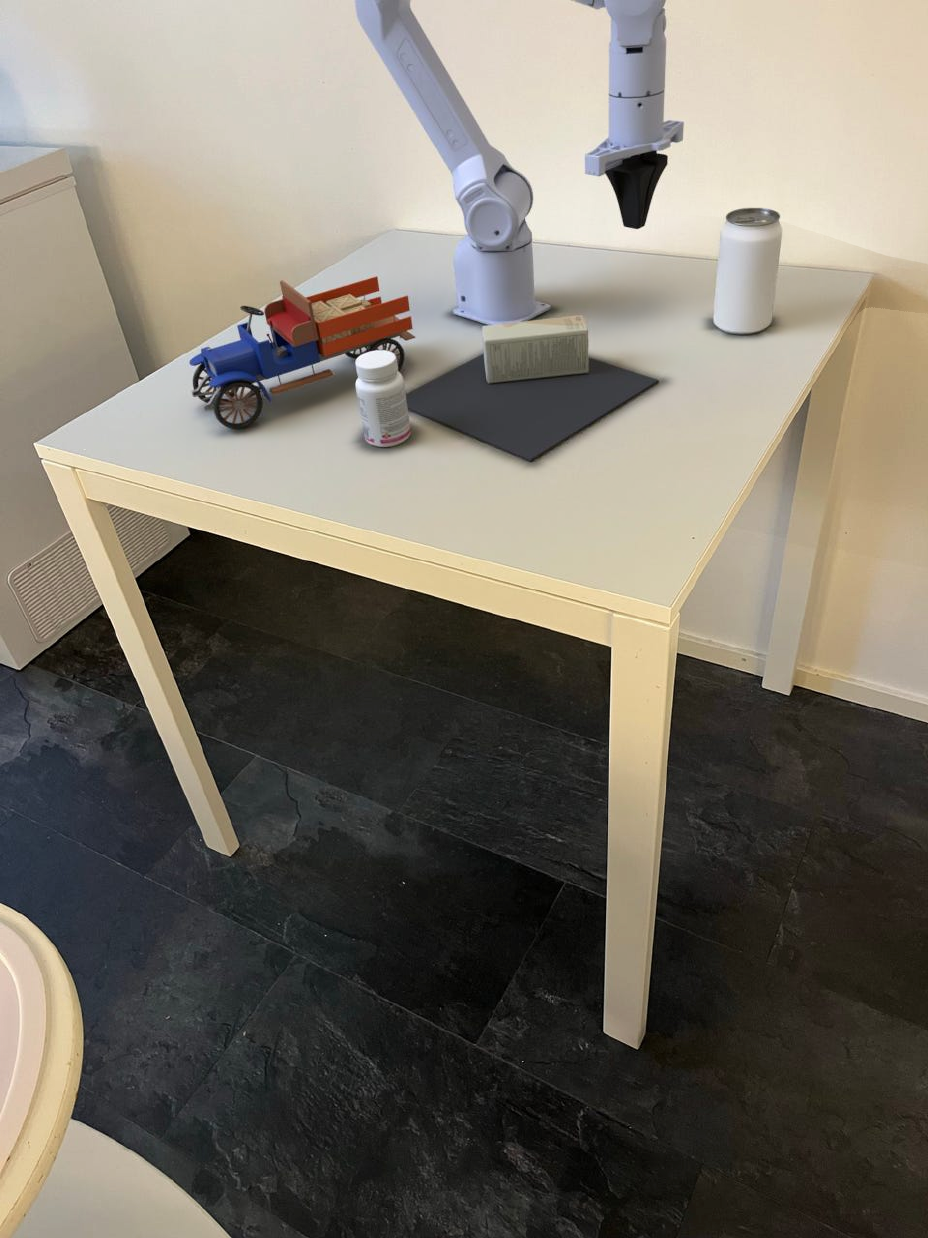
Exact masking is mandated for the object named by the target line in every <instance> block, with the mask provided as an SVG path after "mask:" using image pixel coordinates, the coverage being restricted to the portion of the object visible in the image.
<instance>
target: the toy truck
mask: <svg viewBox="0 0 928 1238" xmlns="http://www.w3.org/2000/svg"><path fill="white" fill-rule="evenodd" d="M279 285H280V290H281V294H282V296H281V298H282V299H281V298H280V299H278V300H274V301H271V302H269V303H266V305H265V307H264V309H263V310H261V309H259V308H256V307H253V306H248V305H241V306H240V310H241V311H243V312H244V313H247V314H249V317H248V321H247V322H244V323H240V324H237V325H236V327H237V331H238V335H239V338H240V339H239V340H236V341H233V342H229V343H226V344H222V345H220V346H216V347H213V348H211V347H210V346H206V347H202V348H201V349H200V351H201V352H200V353H198V354H197V355H194V357H192V358H191V359H190V360H189V363H188V364H189V365H190V366H193V367H196V366H197V368H196V369H195V371H194V373H193V376H192V387H193V390H191V395H192V398H196V397H197V398H198V399H199V400H201V401H202V402H203V404H202V407H203V410H204V411H206V412H207V411H210V410H213V412H214V416H215V418H216V419H217V421H218V422H219V423H220V424H221V425H223V426H224V427H226V428H228V429H232V430H241V429H245V428H246V429H247V428H248V427H250V426H251V425H253V424H254V423H255V422H257V420H258V419H259V417H260V416H261V415H262V411H263V408H264V400H263V399H265V400H266V401H268V403H269V404H272V403H273V401H272V398H271V396H270V394H269V393H268V391H267V389H266V387H265V385H264V384H263V383H262V381H265V380H269V379H273V378H276V377H277V378H278V382H279V385H276V386H273V387H270V388H269V392H270V393H271V394H272V395H273V396H276V395H280V394H282V393H285V392H288V391H291V390H294V389H296V388H301V387H303V386H307V385H310V384H312V383H315V382H318V381H321V380H324V379H328V378H330V377H333V376H334V371H332V370H331V369H330V368H328V369H325V370H322V371H319V372H316V373H315V369H314V365H316V364H318V363H321V362H324V361H326V360H329V359H333V358H336V357H339V356H342V355H345V356H347V357H349V358H350V359H355V360H356V359H357V358H358V357H359V356H360V355H362V354H364V353H367V352H371V351H377V350H380V349H379V347H381V346H382V349H381V350H385V351H390V352H392V353H394V354H395V355H396V358H397V357H399V359H398V360H397V364H398V372H400V371H401V370H402V368H403V366H404V363H405V355H406V354H405V350H404V348H403V346H402V345H401V343H400V342H399V341H398V340H396V339H394V338H397V337H399V339H403V340H404V341H405V342H407V341H409V340H413V339H416V336H415V335H413V334H412V333H410V332H409V331H411V330H413V322H412V321H413V320H412V316H409V315H408V316H407V317H404V318H399V317H397V315H398V316H399V315H401V314H404V313H407V312H410V303H409V302H410V301H409V295H403V296H401V297H398V298H394V299H391V300H388V301H385V302H382V296H377V297H372V298H369V299H366V297H365V296H368V295H371V294H374V293H378V292H380V285H379V279H378V276H372V277H370V278H366V279H363V280H359V281H356V282H352V283H349V284H346V285H342V286H338V287H336V288H333V289H329V290H326V291H322V292H318V293H316V294H312V295H309V296H305V295H303V294H302V293H300V292H299V291H297V290H296V289H295V288H294V287H293V286H291V285H290V284H288V283H287V282H286V281H284V280H279ZM361 297H363V299H358V298H361ZM253 316H260V317H263V316H265V320H266V325H267V326H268V327H269V330H270V334H271V336H270V334H269V333H266V337H268V339H266V340H263V341H258V340H257V339H256V338H255V337H254V336H253V331H252V328H251V324H252V319H253ZM392 346H395V347H394V348H393V349H392V350H391V348H392ZM362 349H365V350H364V351H363V350H362ZM358 350H359V353H357V351H358ZM397 350H398V353H395V352H396V351H397ZM310 366H311V368H312V374H310V375H307V376H306V375H305V376H304V377H300V378H297V379H294V380H292V381H289V382H285V383H282V381H281V377H280V376H282V375H285V374H288V373H291V372H295V371H297V370H300V369H304V368H306V367H310ZM202 372H203V373H205V374H206V375H205V376H201V374H202ZM200 380H201V382H200V383H199V381H200ZM255 383H256V384H257V385H255ZM206 387H208V388H207V389H206V390H204V391H202V389H203V388H206ZM240 388H241V389H240ZM239 389H240V393H239V396H238V392H239ZM245 389H249V391H248V393H246V395H244V394H245V393H244V392H245ZM211 390H212V391H211ZM243 396H244V397H243ZM253 397H254V398H253ZM254 402H256V406H252V405H248V404H251V403H254ZM247 409H248V410H249V409H250V410H254V412H253V414H251V413H249V412H248V410H247ZM229 410H230V411H229ZM227 411H229V412H228V413H227V414H226V415H225V416H224V417H223V415H222V413H223V412H227ZM243 413H244V414H245V415H247V416H248V417H249V418H247V420H245V419H244V414H243ZM232 415H233V418H232V422H230V421H228V419H229V418H230V417H231V416H232ZM238 415H239V418H240V421H241V422H236V421H237V417H238Z"/></svg>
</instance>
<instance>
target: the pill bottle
mask: <svg viewBox="0 0 928 1238" xmlns="http://www.w3.org/2000/svg"><path fill="white" fill-rule="evenodd" d="M397 361H398V359H397V357H396V353H395V352H394V353H392V352H391V350H390V351H387V350H386V351H385V350H382V349H379V350H376V351H371V352H367V353H364V354H362V355H360V356H359V357H358V358H357V359H355V361H354V363H355V364H354V365H355V370H356V374H357V379H356V381H355V392H356V397H357V403H358V409H359V415H360V421H361V426H362V431H363V437H364V440H365V441H366V443H368V444H369V445H371V446H374V447H379V448H388V447H389V448H390V447H394V446H398V445H400V444H402V443H404V442H405V441H406V440H407V439H409V437H410V436H411V433H412V429H411V421H410V413H409V410H408V407H407V400H406V394H407V393H406V388H405V387H406V386H405V380H404V376H403V374H401V372H400V371H399V372H398V363H397Z"/></svg>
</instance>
